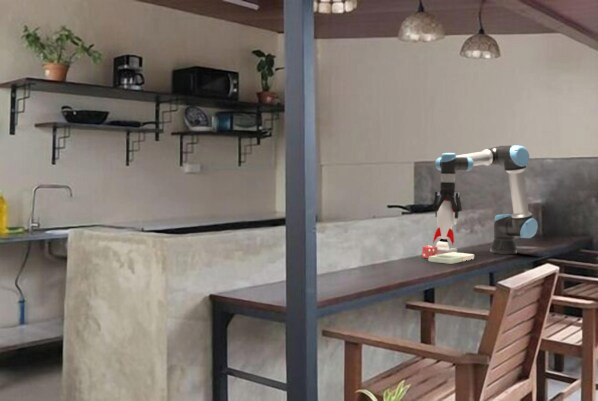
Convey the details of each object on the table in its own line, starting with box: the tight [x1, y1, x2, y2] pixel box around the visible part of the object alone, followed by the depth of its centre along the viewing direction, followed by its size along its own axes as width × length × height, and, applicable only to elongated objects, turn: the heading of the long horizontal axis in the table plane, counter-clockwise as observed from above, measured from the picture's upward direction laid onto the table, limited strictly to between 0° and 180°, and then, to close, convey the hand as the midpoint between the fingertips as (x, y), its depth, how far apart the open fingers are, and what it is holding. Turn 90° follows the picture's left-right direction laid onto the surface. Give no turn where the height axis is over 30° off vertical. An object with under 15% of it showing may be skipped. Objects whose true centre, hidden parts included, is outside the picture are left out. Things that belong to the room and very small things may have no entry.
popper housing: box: [437, 247, 458, 255], centre depth 367 cm, size 12×12×4 cm
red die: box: [421, 245, 437, 259], centre depth 356 cm, size 7×7×7 cm
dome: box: [435, 240, 450, 250], centre depth 367 cm, size 7×7×8 cm
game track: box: [428, 252, 475, 265], centre depth 348 cm, size 27×13×2 cm, turn 138°
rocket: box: [432, 199, 455, 246], centre depth 343 cm, size 11×11×25 cm
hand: (446, 223), depth 342 cm, fingers open, 9 cm apart
